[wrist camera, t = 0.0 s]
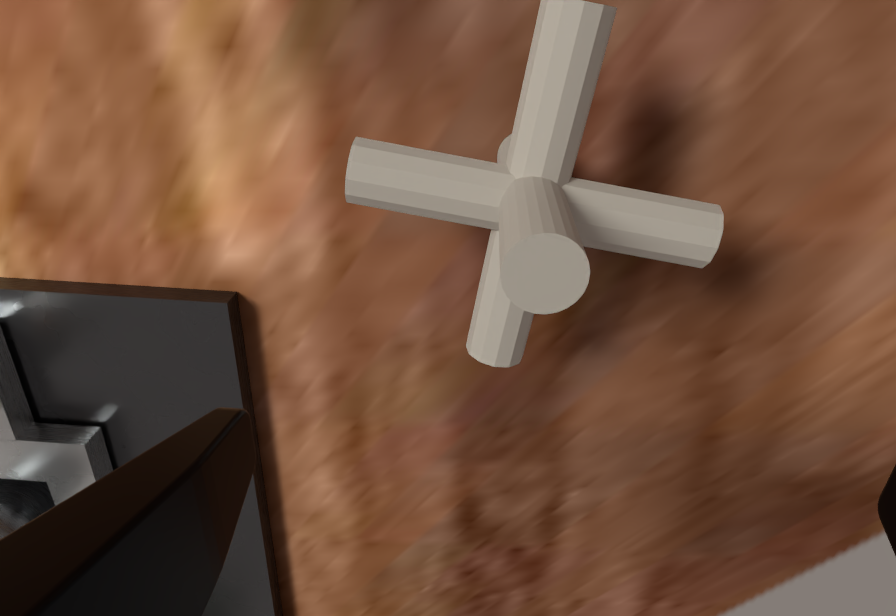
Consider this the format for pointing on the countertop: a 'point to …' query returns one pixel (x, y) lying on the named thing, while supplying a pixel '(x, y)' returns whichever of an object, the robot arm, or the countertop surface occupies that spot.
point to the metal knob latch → (45, 442)
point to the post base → (138, 395)
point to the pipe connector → (537, 192)
